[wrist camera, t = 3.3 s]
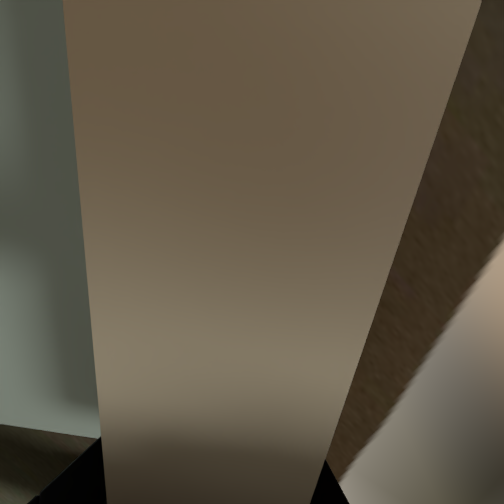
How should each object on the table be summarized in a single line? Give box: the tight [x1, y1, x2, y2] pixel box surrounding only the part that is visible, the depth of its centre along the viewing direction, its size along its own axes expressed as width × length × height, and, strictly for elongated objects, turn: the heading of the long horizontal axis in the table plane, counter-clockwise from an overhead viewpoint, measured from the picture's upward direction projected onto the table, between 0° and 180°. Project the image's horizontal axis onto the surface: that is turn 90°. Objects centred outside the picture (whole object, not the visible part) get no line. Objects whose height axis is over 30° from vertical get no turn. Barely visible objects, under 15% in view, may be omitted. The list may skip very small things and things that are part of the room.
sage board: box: [0, 0, 101, 438], centre depth 15 cm, size 27×8×1 cm, turn 172°
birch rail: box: [62, 0, 482, 504], centre depth 6 cm, size 24×3×3 cm, turn 172°
